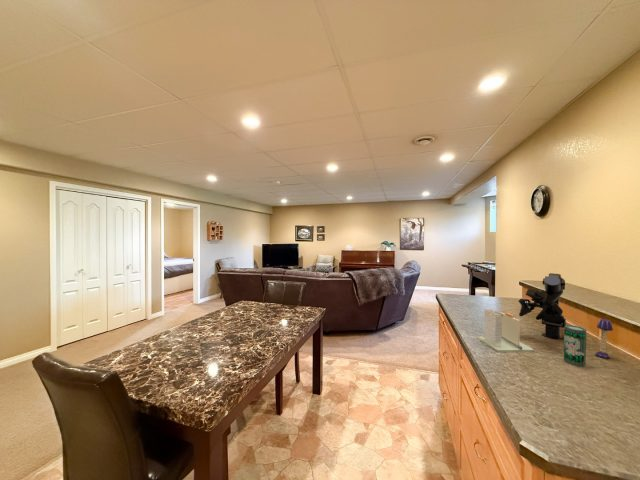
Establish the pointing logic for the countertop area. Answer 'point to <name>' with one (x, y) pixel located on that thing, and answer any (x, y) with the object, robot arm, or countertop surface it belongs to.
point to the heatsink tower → (493, 327)
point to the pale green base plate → (507, 346)
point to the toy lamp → (604, 337)
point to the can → (575, 345)
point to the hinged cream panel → (510, 329)
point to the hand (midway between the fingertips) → (527, 317)
